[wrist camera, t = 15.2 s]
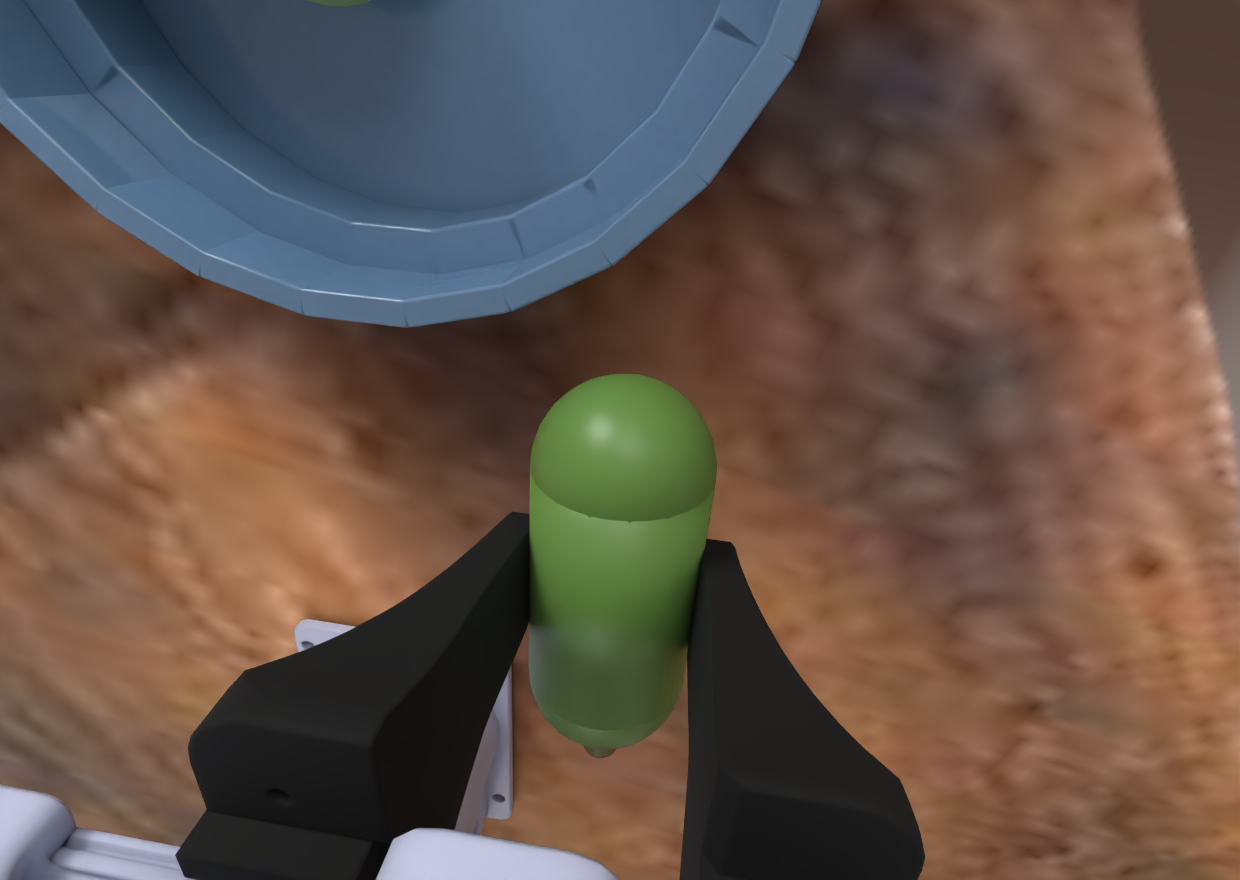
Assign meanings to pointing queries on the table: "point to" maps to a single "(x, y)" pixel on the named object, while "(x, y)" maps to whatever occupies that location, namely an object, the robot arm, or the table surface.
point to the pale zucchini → (339, 2)
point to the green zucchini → (615, 556)
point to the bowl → (392, 135)
